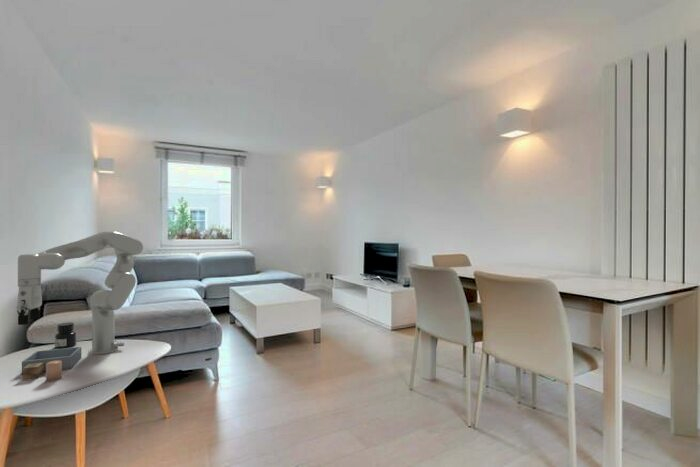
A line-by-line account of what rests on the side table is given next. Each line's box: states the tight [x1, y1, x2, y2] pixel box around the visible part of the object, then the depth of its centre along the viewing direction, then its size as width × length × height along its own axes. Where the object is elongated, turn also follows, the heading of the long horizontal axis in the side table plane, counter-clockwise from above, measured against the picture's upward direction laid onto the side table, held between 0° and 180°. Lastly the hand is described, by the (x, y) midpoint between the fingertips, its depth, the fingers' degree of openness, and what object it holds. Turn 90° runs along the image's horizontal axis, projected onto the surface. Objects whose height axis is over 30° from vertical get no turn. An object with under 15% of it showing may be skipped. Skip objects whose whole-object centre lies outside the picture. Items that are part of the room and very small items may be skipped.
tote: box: [21, 346, 82, 375], centre depth 162 cm, size 17×14×6 cm
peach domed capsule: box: [45, 360, 63, 383], centre depth 148 cm, size 5×5×7 cm
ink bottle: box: [54, 321, 77, 349], centre depth 190 cm, size 10×9×12 cm
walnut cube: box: [22, 363, 44, 381], centre depth 150 cm, size 5×5×5 cm
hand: (29, 321), depth 153 cm, fingers open, 9 cm apart
